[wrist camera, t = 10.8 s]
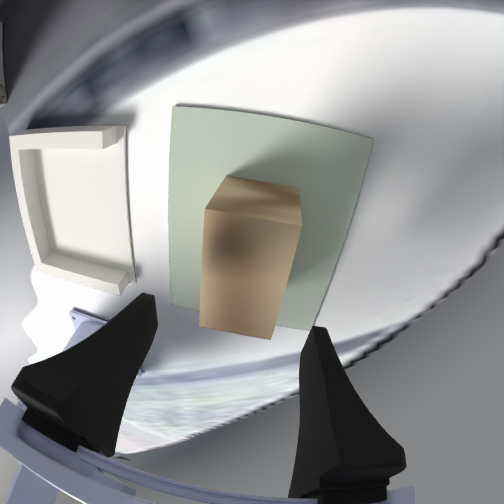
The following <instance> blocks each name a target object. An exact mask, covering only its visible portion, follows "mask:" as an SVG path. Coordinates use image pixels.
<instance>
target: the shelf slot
mask: <svg viewBox="0 0 504 504" xmlns="http://www.w3.org/2000/svg"><path fill="white" fill-rule="evenodd" d="M9 138H10V149H11V158H12V166H13V173H14V179H15V186H16V191H17V197H18V202H19V207H20V211H21V216H22V220H23V224H24V228H25V232H26V236H27V239H28V243H29V246H30V250H31V253H32V257H33V260H34V263H35V266H36V269H37V271H40V272H43V273H46V274H49V275H52V276H55V277H58V278H61V279H64V280H68V281H71V282H74V283H77V284H81V285H84V286H87V287H91V288H94V289H97V290H101V291H104V292H108V293H112V294H115V295H119V296H120V295H121V294H122V292H123V291H124V289H125V288H126V286H127V285H128V283H133V284H135V283H136V279H135V272H134V264H133V256H132V247H131V238H130V227H129V214H128V199H127V178H126V125H94V126H66V127H51V128H39V129H28V130H24V131H21V132H19V133H16V134H14V135H11V136H9Z"/></svg>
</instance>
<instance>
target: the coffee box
mask: <svg viewBox="0 0 504 504" xmlns="http://www.w3.org/2000/svg"><path fill="white" fill-rule="evenodd" d="M2 32H3V22H0V107H2V106H3V105H5V104H6V102H7V96H6V89H5V80H4V67H3V39H2Z"/></svg>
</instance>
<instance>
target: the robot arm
mask: <svg viewBox="0 0 504 504" xmlns="http://www.w3.org/2000/svg"><path fill="white" fill-rule="evenodd" d="M69 313H70V316H71V319H72V321H73V324H74V326H75V328H76V331H75V333H74V334H73V336H72V337H71V339H70V341H69V342H68V344H67V345H66V347H65V348H64V350H63V352H61V353H59V354H57V355H55V356H53V357H50V358H48V359H45V360H43V361H40V362H37V363H34V364H31V365H28V366H25V367H23V368H22V369H21V371H20V373H19V374H18V376H17V377H16V379H15V381H14V382H13V384H12V386H11V388H12V391H13V392H14V394H15V395H16V396H17V397H18V398H19V401H18V403H17V405H15V404H14V403H13V402H11V401H10V400H8V399H7V398H5V399H4V401H3V402H2V404H1V406H0V447H1V448H2V449H3V450H5V451H6V452H7V453H8V454H10V455H11V456H12V457H13V458H15V459H16V460H17V461H18V462H19V465H18V468H17V470H16V472H15V475H14V477H13V479H12V482H11V484H10V486H9V489H8V492H7V494H6V496H5V499H4V502H3V504H54V503H55V500H56V498H57V496H58V493H59V491H60V490H61V491H62V492H64V493H66V494H68V495H69V496H71V497H73V498H75V499H76V500H78V501H80V502H82V503H84V504H157V503H154V502H151V501H147V500H144V499H141V498H138V497H135V495H136V490H135V489H133V488H131V487H129V486H127V485H125V484H124V483H123V482H121V481H118V480H116V479H114V478H112V477H110V476H108V475H105V474H103V472H102V471H104V472H107V473H109V474H112V475H114V476H116V477H119V478H121V479H124V480H127V481H129V482H132V483H135V484H138V485H141V486H144V487H147V488H150V489H153V490H156V491H160V492H163V493H166V494H170V495H174V496H177V497H182V498H186V499H190V500H194V501H199V502H203V503H208V504H415V490H414V486H408V487H403V488H397V489H392V490H388V491H387V489H386V486H388V485H389V478H390V477H392V476H394V475H396V474H398V473H400V472H401V471H403V470H404V469H405V468H406V458H405V452H404V449H403V447H402V446H401V445H400V444H398V443H397V442H396V441H395V440H394V439H393V438H392V437H391V436H390V435H389V434H388V433H387V432H386V431H385V430H384V429H383V428H382V427H381V426H380V424H379V423H378V422H377V420H376V419H375V418H374V417H373V415H372V414H371V413H370V412H369V410H368V409H367V407H366V406H365V405H364V403H363V402H362V400H361V399H360V397H359V395H358V394H357V392H356V391H355V389H354V387H353V385H352V384H351V382H350V380H349V378H348V376H347V375H346V372H345V370H344V368H343V366H342V364H341V362H340V360H339V358H338V356H337V353H336V351H335V349H334V346H333V344H332V341H331V339H330V336H329V334H328V331H327V329H326V328H325V327H317V326H312V328H311V331H310V333H309V335H308V338H307V340H306V342H305V345H304V347H303V349H302V352H301V356H300V368H299V390H300V426H299V436H298V444H297V452H296V458H295V465H294V471H293V476H292V481H291V486H290V490H289V494H288V498H276V497H263V496H254V495H245V494H237V493H230V492H225V491H219V490H213V489H208V488H203V487H198V486H194V485H190V484H186V483H182V482H177V481H174V480H170V479H166V478H163V477H160V476H156V475H153V474H150V473H147V472H144V471H141V470H138V469H135V468H132V467H130V466H127V465H124V464H122V463H119V462H117V461H114V460H111V459H109V457H111V456H113V455H114V454H115V448H116V442H117V437H118V432H119V428H120V424H121V420H122V416H123V413H124V409H125V406H126V402H127V399H128V396H129V393H130V390H131V387H132V385H133V382H134V380H135V378H136V376H137V377H141V376H142V372H141V369H140V367H141V365H142V363H143V361H144V359H145V357H146V355H147V353H148V351H149V349H150V347H151V345H152V342H153V339H154V336H155V333H156V330H157V327H158V321H157V313H156V305H155V297H154V295H150V294H146V293H141V294H140V295H139V296H138V297H137V298H136V299H134V300H133V301H132V302H131V303H130V304H129V305H128V306H126V307H125V308H124V309H123V310H122V311H121V312H119V313H118V314H117V315H116V316H115V317H113V318H112V319H111V320H110V321H109V322H107V321H104V320H101V319H98V318H95V317H92V316H89V315H86V314H83V313H80V312H77V311H75V310H71V311H70V312H69Z"/></svg>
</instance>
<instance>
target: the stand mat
mask: <svg viewBox="0 0 504 504" xmlns="http://www.w3.org/2000/svg"><path fill="white" fill-rule="evenodd" d="M373 141H374V140H373V139H371V138H367V137H364V136H360V135H357V134H353V133H349V132H345V131H341V130H337V129H333V128H329V127H325V126H320V125H316V124H311V123H306V122H301V121H296V120H291V119H285V118H280V117H274V116H268V115H261V114H254V113H247V112H239V111H231V110H222V109H211V108H199V107H184V106H173V107H172V120H171V136H170V157H169V198H168V222H169V264H170V286H171V302H172V305H173V306H178V307H182V308H187V309H191V310H196V311H200V289H201V264H202V244H203V227H204V212H205V207H206V206H207V204H208V203H209V201H210V200H211V198H212V197H213V195H214V193H215V192H216V190H217V189H218V187H219V186H220V184H221V183H222V181H223V180H224V178H225V177H226V176H233V177H239V178H245V179H251V180H257V181H263V182H268V183H274V184H279V185H285V186H290V187H295V188H299V192H300V204H301V217H302V229H301V233H300V236H299V240H298V244H297V248H296V252H295V256H294V259H293V263H292V267H291V271H290V274H289V278H288V282H287V285H286V289H285V292H284V296H283V300H282V303H281V307H280V310H279V314H278V317H277V320H276V324H275V326H281V327H288V328H294V329H301V330H308V331H310V330H311V328H312V326H313V323H314V321H315V318H316V316H317V313H318V311H319V308H320V306H321V303H322V301H323V298H324V295H325V293H326V290H327V287H328V285H329V282H330V279H331V277H332V274H333V271H334V269H335V266H336V263H337V260H338V257H339V254H340V252H341V249H342V246H343V243H344V240H345V237H346V234H347V231H348V228H349V225H350V222H351V218H352V215H353V212H354V209H355V206H356V202H357V199H358V196H359V192H360V189H361V185H362V182H363V178H364V175H365V171H366V168H367V164H368V160H369V157H370V153H371V149H372V145H373Z"/></svg>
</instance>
